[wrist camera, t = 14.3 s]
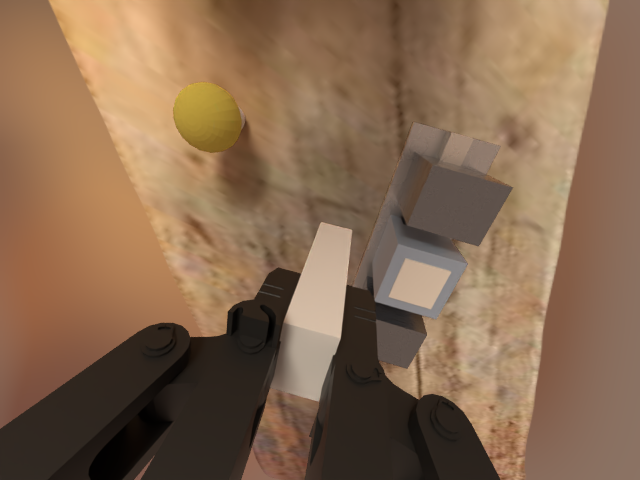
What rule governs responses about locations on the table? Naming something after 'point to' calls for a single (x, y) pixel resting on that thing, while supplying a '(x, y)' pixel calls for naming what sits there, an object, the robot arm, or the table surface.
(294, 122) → the table surface
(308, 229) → the table surface
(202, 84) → the light bulb
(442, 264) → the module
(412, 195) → the grey block holder
